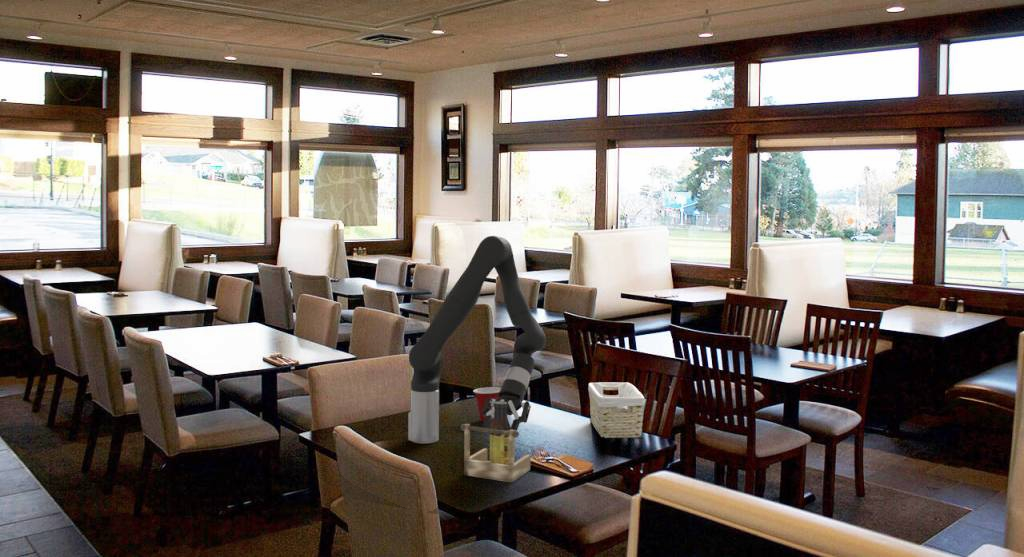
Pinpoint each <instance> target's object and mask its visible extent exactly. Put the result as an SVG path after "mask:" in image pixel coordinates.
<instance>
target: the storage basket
mask: <svg viewBox="0 0 1024 557" xmlns="http://www.w3.org/2000/svg"><path fill="white" fill-rule="evenodd" d="M587 390H588V396H589V402H590V403H589V405H590V406H589V407H590V408H589V411H590V422H591V423H592V425H593V427H594V428H595V430H596V432H597V433H598V434H599V436H600V437H601V438H603V437H604V439H610V438H611V439H615V438H616V439H622V438H623V439H629V438H631V439H635V438H641V437H642V432H643V420H644V407H645V405H646V402H645V397H644V395H643V394H642V392H641V391H639V389H638V388H637V387H636V386H635V385H633V384H632V383H630V382H628V381H627V382H614V381H613V382H601V381H599V382H589V383H588V387H587ZM604 391H618V394H615V395H612V394H609V395H608V394H604Z"/></svg>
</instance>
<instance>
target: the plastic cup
mask: <svg viewBox="0 0 1024 557" xmlns="http://www.w3.org/2000/svg"><path fill="white" fill-rule="evenodd" d="M500 389H501V387H497V386H496V387H494V386H491V387H489V386H488V387H479V388H475V389H473V391H472V392H473V393H474V395H475V399H476V405H477V410H478V414H479V415H478V416H479V420H480V421H479V422H481V421H482V422H481V423H483V422H484V420H485V417H484V416H483V414H482V413H481V411H482V409H483V406H484V404H485V402H486V400H487V398H488V397H491V399H497V398H498V396H499V392H500ZM493 406H494V405H493ZM493 406H492V407H493ZM492 407H491V408H492ZM490 410H491V409H490ZM493 419H494V418H493ZM493 419H491V420H492V421H493ZM492 421H491V422H492Z"/></svg>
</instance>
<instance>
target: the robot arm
mask: <svg viewBox="0 0 1024 557" xmlns="http://www.w3.org/2000/svg"><path fill="white" fill-rule="evenodd" d="M494 269H495V271H496V273H497V275H498V278H499V281H500V285H501V292H502V296H503V302H504V306H505V309H506V312H507V314H508V316H509V320H510V323H511V324H512V325H513V327H517V328H518V327H520V328H521V329H522V330H523V333H522V334H520V335H518V336H517V338H516V339H515V341H514V344H513V350H512V360H511V362H510V365H509V368H508V370H507V372H506V374H505V376H504V379H503V381H502V385H501V387H500V388H501V389H500V392H499V396H498V398H497V399H491V397H488V398H487V400H486V402H485V404H484V406H483V409H482V411H481V413H482V414H483V416H484V417H485V420H484V423H483V422H482V426H483V428H489V429H490V426H491V421H492V420H491V419H493V418H494V410H495V409H494V406H493V405H494V402H498V401H504V402H507V403H508V407H507V416H512V415H513V418H514V419H513V420H512V423H511V425H510V427H511V428H510V430H515V431H518V429H519V427H520V424H521V423H527V422H528V420H529V416H530V411H531V407H532V406H531V404H530V402H529V401H528V400H526V401H524V398H525V396H526V393H527V389H528V388H529V384H530V380H531V375H532V373H533V370H534V368H535V360H534V358H533V357H532V355H533V354H534V353H536V352H539V351H541V350H542V349H544V348H545V347H546V344H547V337H546V334H545V332H544V330H543V328H542V327H541V325H540V324H539V323H538V321H537V319H536V318H535V316H534V315H533V314H532V311H531V308H530V306H529V305H530V304H529V303H528V301H527V297H526V296H525V292H524V291H523V287H522V284H521V281H520V278H519V275H518V270H517V266H516V262H515V257H514V251H513V248H512V245H511V243H510V242H509V240H507V239H506V238H504V237H501V236H498V235H489V236H487V237H485V238H483V239H482V240H481V242H480V243H479V244H478V246H477V248H476V250H475V252H474V253H473V256H472V258H471V260H470V262H469V263H468V265H467V267H466V268H465V270H464V271H463V273H462V274H461V275H460V277H459V278H458V279H457V282H456V283H455V284H454V286H453V287H452V288H451V290H450V291H449V293H448V294H447V295H446V297H445V298H444V300H443V302H442V304H441V305H440V307H439V308H438V310H437V312H436V314H435V315H434V318H433V319H432V320H431V323H430V324H429V326H428V328H427V329H426V330H425V332H424V333H423V334H422V335H421V336H420V338H419V339H418V341H417V342H416V343H415V344H414V345H413V346H412V347H411V349H410V350H409V353H408V362H409V365H410V367H411V368H413V375H412V379H411V382H410V411H409V412H408V414H407V417H408V419H407V421H408V424H407V425H408V427H407V428H408V430H407V435H408V436H407V438H408V441H411V442H412V443H415V444H421V445H422V444H423V445H424V444H427V445H428V444H434V443H437V442H438V441H439V439H440V438H439V435H440V432H439V430H440V429H439V428H440V427H439V426H440V424H439V423H440V419H439V418H440V414H439V413H440V381H441V374H442V372H441V370H442V352H441V350H442V349H443V348H444V346H445V344H446V342H447V341H448V340H449V338H450V337H451V336H453V334H454V333H455V332H456V331H457V330H458V329H459V328H460V327H461V326H462V324H463V323H464V322H465V321H466V319H467V318H468V316H469V315H470V314H471V312H472V311H473V309H474V308H475V306H476V304H477V302H478V300H479V298H480V295H481V290H482V287H483V285H484V283H485V280H486V279H487V278H488V276H489V275H490V273H491V272H492V271H493V270H494ZM523 401H524V402H523ZM492 406H493V407H492ZM491 407H492V408H491ZM521 408H522V412H521V416H519V414H518V411H519V410H520V409H521ZM490 409H491V410H490Z"/></svg>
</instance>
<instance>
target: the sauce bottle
mask: <svg viewBox="0 0 1024 557" xmlns="http://www.w3.org/2000/svg"><path fill="white" fill-rule="evenodd" d="M507 407H508V403H507V402H504V401H498V402H494V409H495V410H494V419H493V421H492V422H491V424H490V426H489V429H497V430H504V431H509V430H510V428H511V425H510V422H509V419H508V415H507ZM489 461H490V462H491V463H498V464H504V465H509V435H502V434H495V433H489Z"/></svg>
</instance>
